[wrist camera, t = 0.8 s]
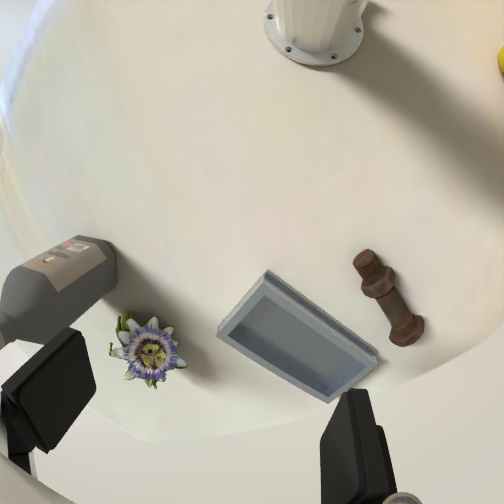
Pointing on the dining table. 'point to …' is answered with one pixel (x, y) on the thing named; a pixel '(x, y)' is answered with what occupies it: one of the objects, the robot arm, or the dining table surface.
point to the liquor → (55, 289)
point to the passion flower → (146, 350)
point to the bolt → (388, 298)
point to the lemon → (501, 59)
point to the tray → (296, 339)
